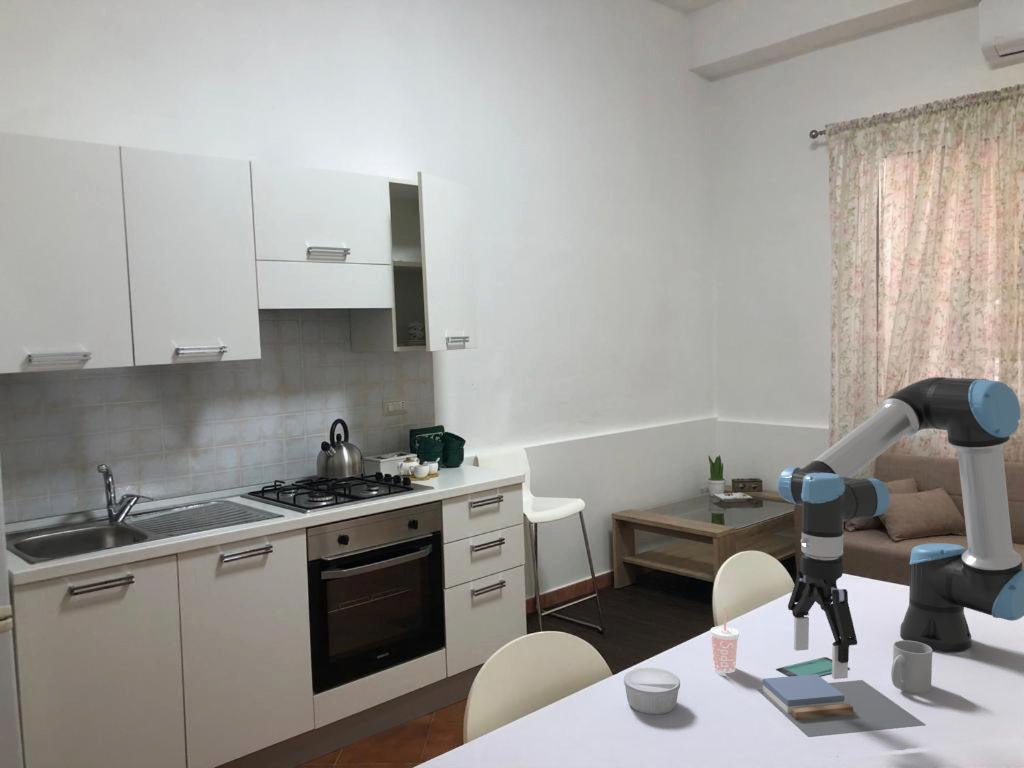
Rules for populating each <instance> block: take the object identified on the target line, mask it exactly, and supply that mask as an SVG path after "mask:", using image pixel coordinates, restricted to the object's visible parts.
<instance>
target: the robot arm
mask: <svg viewBox="0 0 1024 768" xmlns="http://www.w3.org/2000/svg"><path fill="white" fill-rule="evenodd" d="M1021 414H1022V413H1021V406H1020V402H1019V399H1018V396H1017V394H1016V392H1015V391H1014V390H1013V389H1012V387H1010V386H1009V385H1007V384H1006V383H1004V382H1003V381H998V380H990V379H986V378H959V377H954V378H953V377H944V376H942V377H941V376H934V377H929V378H924V379H921V380H918V381H916V382H913V383H910V384H908V385H907V386H904V387H903V388H901V389H899V390H898V391H896V392H895V393H892V394H891V395H890V396H889V397H887V398H886V399H885V400H884V401H882V402H881V403H880V405H879V407H878V411H876V412H875V413H874V414H872V415H871V416H870V417H869V418H867V419H866V420H865V421H863V422H862V423H860V424H859V425H858V426H856V427H855V428H853V430H852V431H850V432H849V433H847V434H846V435H845V436H844V437H842V438H841V439H840V440H838V441H837V442H835V443H834V444H833V445H832V446H830V447H829V448H828V449H826V450H825V451H824V452H822V453H821V454H820V455H819V456H818V457H816V458H815V459H814V460H812V461H811V462H809V463H808V464H806V466H804V467H802V468H800V467H796V466H795V467H787V468H785V469H784V470H783V471H782V472H781V473H780V475H779V477H778V479H777V491H778V493H779V495H780V497H781V498H782V499H783V500H784V501H786V502H789V503H791V504H795V505H796V506H801V539H800V543H801V546H800V547H801V549H800V550H801V552H802V554H801V555H800V570H799V569H797V571H796V580H795V583H794V586H793V589H792V592H791V595H790V597H789V601H788V604H787V609H788V610H789V611H792V613H791V614H792V616H793V617H794V619H793V620H794V625H793V627H794V628H793V629H794V630H793V631H794V633H793V634H794V635H793V636H794V637H793V649H794V651H806V650H807V651H808V650H809V644H810V643H809V638H810V637H809V632H810V631H809V629H810V628H809V627H810V618H809V617H808V616H809V615H810V612H809V611H810V610H811V609H812V607H813V606H814V604H815V603H817V605H819V606H820V609H821V610H822V611H824V613H825V616H826V619H827V622H828V624H829V627H830V630H831V633H832V635H833V636H832V637H833V639H834V641H833V642H832V650H831V651H832V654H831V655H832V658H831V659H832V674H831V678H832V679H833V680H842V679H848V677H849V670H848V667H849V656H850V655H849V654H850V646H856V645H858V639H857V638H858V637H857V635H856V630H855V626H854V623H853V622H854V621H853V618H852V614H851V610H850V609H851V608H850V606H849V598H848V597H849V595H848V594H849V593H848V590H847V589H846V588H838V586H837V581H838V579H840V578H842V577H843V574H844V573H843V566H844V562H843V561H844V558H843V557H841V556H844V526H845V525H844V524H845V523H844V522H849V521H854V520H856V521H857V520H862V519H871V518H874V517H877V516H880V515H883V514H884V513H885V512H887V510H888V508H889V507H890V503H891V494H890V492H889V491H890V490H889V489H888V486H887V485H886V484H885V483H884V482H882V481H881V480H879V479H877V478H874V477H873V478H871V477H870V478H868V477H863V478H860V479H859V478H852V477H854V476H855V475H857V474H858V473H859V472H860V471H862V470H863V469H864V468H866V467H867V466H868V465H869V464H871V463H872V462H873V461H875V459H876V458H878V457H880V456H881V454H883V453H884V452H886V451H887V450H888V449H890V447H892V446H893V445H894V444H895V443H897V442H898V441H900V440H901V439H902V438H903V437H911V436H913V435H915V434H916V433H918V431H921V430H929V429H930V430H931V429H932V430H933V429H934V430H940V431H946V433H947V441H948V444H949V445H950V446H952V448H955V450H956V451H957V459H958V470H959V478H960V487H961V495H962V504H963V506H962V507H963V514H964V521H965V522H964V523H965V531H966V541H967V549H966V547H965V546H964V545H961V544H954V543H939V542H936V543H924V544H919V545H915V546H914V547H913V548H912V549H911V551H910V552H911V553H910V561H909V592H908V593H909V599H908V600H909V601H908V607H907V609H906V613H905V615H904V617H903V621H902V622H901V624H900V626H899V627H900V631H899V634H900V635H899V636H900V638H901V639H902V640H908V641H916V642H920V643H923V644H926V645H928V646H930V647H931V648H932V651H935V652H940V653H941V652H944V653H958V652H964V651H967V650H969V649H971V647H972V634H971V631H970V628H969V625H968V622H967V619H966V615H965V608H966V609H968V610H973V611H975V612H979V613H982V614H985V615H988V616H991V617H993V618H996V619H1002V620H1006V621H1010V622H1012V621H1017V620H1020V619H1021V618H1023V617H1024V566H1023V559H1022V556H1021V554H1020V553H1019V552H1017V551H1016V550H1014V546H1013V540H1012V538H1013V537H1012V529H1011V521H1010V520H1011V519H1010V510H1009V508H1010V507H1009V498H1008V491H1007V490H1008V489H1007V479H1006V470H1005V460H1004V450H1003V448H1004V447H1005V446H1006V444H1008V443H1009V442H1010V440H1011V438H1010V437H1011V436H1012V435H1013V434H1014V433H1016V431H1017V429H1018V428H1019V425H1020V423H1019V421H1020V420H1021Z"/></svg>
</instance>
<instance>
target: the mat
mask: <svg viewBox="0 0 1024 768" xmlns="http://www.w3.org/2000/svg"><path fill="white" fill-rule="evenodd" d="M828 683H829V684H830V685H832V686H833V687H834V688H836V689H837V690H838V691H840V692H841V693H842V694H844V704H850V705H851V706H853V715H844V716H833V717H823V718H813V719H802V720H795V719H794V718H793V717H791V713H787V712H786V711H785V710H784V709H783V708H782V707H780V706H779V705H778V704H777V703H776V702H775V701H774V700H773V699H772V698H770V697H769V696H768V695H767V694H766V693H765V692H764V691H763V688H758V689H756V690H757V692H759V694H761V695H762V696H763V697H764V698H765V699H766V700H767V701H768V702H769V703H771V705H773V707H775V709H777V710H778V711H779V712H780V713H782V715H783V716H784V717H786V719H788V721H790V722H791V723H792V724H793V725H794V726H796V727H797V728H798V729H799V730H800V731H801V732H802V733H803V734H804V735H806V737H808V738H811V737H821V736H831V735H839V734H840V735H842V734H848V733H849V734H851V733H861V732H869V731H881V730H892V729H899V728H900V729H901V728H908V727H909V728H910V727H911V728H912V727H921V726H926V725H927V724H925V723H924V722H923V721H921V720H920V719H919V718H917V717H916V716H914V715H913V714H912V713H910V712H909V711H908V710H906V709H904V708H902V707H901V706H900V705H899V704H897V703H896V702H894V701H893V700H891V699H890V698H889V697H888V696H886V695H885V694H883V693H881V692H880V691H878V690H877V689H876V688H874V687H873V686H871V685H870V684H869V683H867V682H866V681H865V680H863V679H859V680H848V681H847V680H846V681H835V682H828Z"/></svg>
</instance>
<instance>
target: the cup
mask: <svg viewBox="0 0 1024 768" xmlns="http://www.w3.org/2000/svg"><path fill="white" fill-rule="evenodd" d="M892 645H893V651H892V653H893V654H892V665H891V671H890V672H891V673H890V674H891V675H890V676H891V681H892V686H894V687H895V688H896V689H898V690H900V691H903V692H906V693H910V694H919V695H921V694H922V695H923V694H929V693H930V692H931V690H932V672H933V670H932V669H933V650H932V648H931V647H930V646H928V645H926V644H923V643H920V642H916V641H908V640H903V639H902V640H896V641H894V642H893V644H892Z"/></svg>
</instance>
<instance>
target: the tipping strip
mask: <svg viewBox="0 0 1024 768" xmlns="http://www.w3.org/2000/svg"><path fill="white" fill-rule="evenodd" d="M844 715H853V706H851V705H850V704H838V705H828V706H817V707H806V708H796V709H792V712H791V717H793V718H794V719H795V720H802V719H813V718H823V717H833V716H844Z"/></svg>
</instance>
